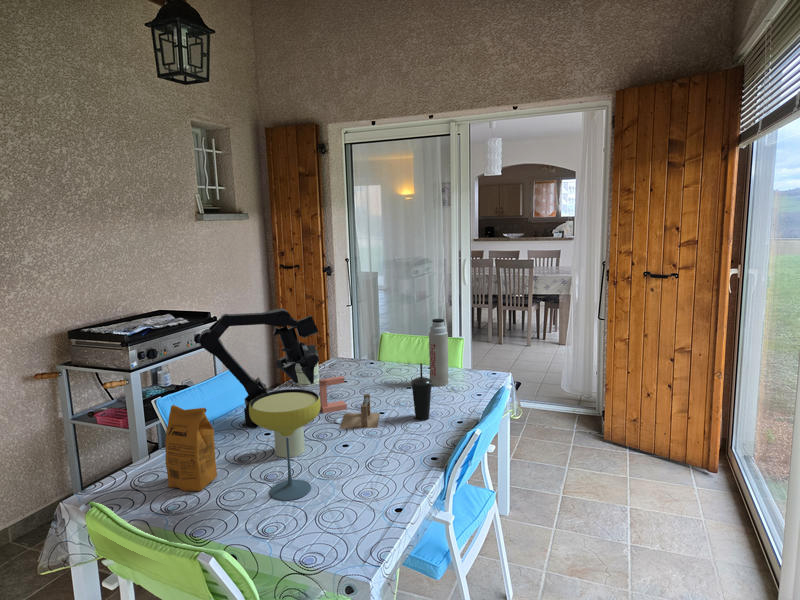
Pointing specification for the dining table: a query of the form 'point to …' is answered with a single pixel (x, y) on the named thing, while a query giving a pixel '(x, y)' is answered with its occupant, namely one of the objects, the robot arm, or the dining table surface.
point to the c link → (323, 395)
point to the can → (290, 443)
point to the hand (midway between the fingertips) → (304, 383)
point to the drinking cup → (421, 396)
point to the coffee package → (190, 449)
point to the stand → (361, 417)
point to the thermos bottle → (438, 353)
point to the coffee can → (302, 378)
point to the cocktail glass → (286, 428)
